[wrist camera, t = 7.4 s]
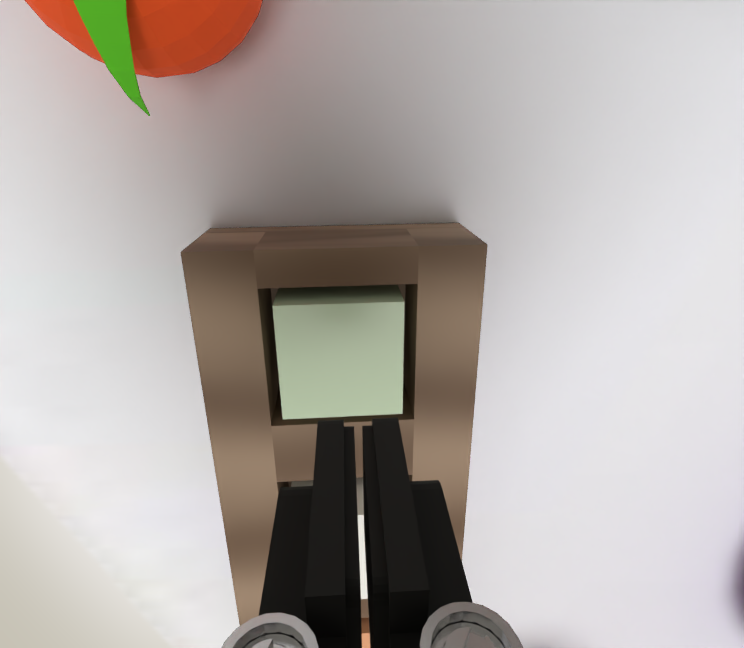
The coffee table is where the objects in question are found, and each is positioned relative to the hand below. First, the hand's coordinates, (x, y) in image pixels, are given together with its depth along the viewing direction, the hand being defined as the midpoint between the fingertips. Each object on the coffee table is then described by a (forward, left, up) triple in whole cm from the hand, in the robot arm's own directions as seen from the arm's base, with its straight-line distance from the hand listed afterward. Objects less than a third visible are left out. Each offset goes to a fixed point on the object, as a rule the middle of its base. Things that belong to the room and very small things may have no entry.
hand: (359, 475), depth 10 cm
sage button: (+1, 0, -9) cm, 9 cm away
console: (+9, 0, -11) cm, 14 cm away
